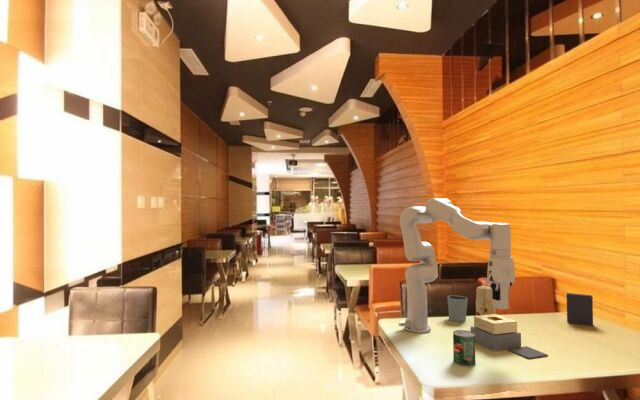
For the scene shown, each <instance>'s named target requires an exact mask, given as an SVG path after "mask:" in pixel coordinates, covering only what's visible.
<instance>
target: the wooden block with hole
mask: <svg viewBox="0 0 640 400" xmlns="http://www.w3.org/2000/svg"><path fill="white" fill-rule="evenodd" d="M473 326H475V327H477V328H479V329H482V330H484V331H487V332H489V333H492V334H494V335H495V334H504V333H512V332H518V321H517V320H514V319H511V318H509V317H508V316H507V317H506V316H503V315H499V314H497V313H496V314H491V315H481V316H477V315H475V316H473Z"/></svg>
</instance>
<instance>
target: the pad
mask: <svg viewBox="0 0 640 400" xmlns="http://www.w3.org/2000/svg"><path fill="white" fill-rule="evenodd" d="M507 350H508V351H509V352H511V353H514V354H516V355H518V356H520V357H522V358H524V359H527V360H532V359H539V358H545V357H548V356H549V355H548V354H547V353H544V352H542V351H540V350H537V349H535V348H531V347H529V346H527V345H526V346H525V345H524V346H521V347H518V348H510V349H507Z"/></svg>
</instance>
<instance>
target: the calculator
mask: <svg viewBox="0 0 640 400" xmlns="http://www.w3.org/2000/svg"><path fill="white" fill-rule="evenodd" d="M593 302H594V301H593V295H591V294H583V293H574V292H573V293H571V292H566V321H567V323H568V324H574V325H575V324H576V325H584V326H591V327H593V326H594V310H593V309H594V307H593V306H594V305H593V304H594V303H593Z"/></svg>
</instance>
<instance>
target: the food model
mask: <svg viewBox="0 0 640 400" xmlns="http://www.w3.org/2000/svg"><path fill="white" fill-rule="evenodd" d="M475 313H476V315H475V316H481V315H491V314H497V311H496V308H494V307H493V299H492V289H491V287H490V286H489V285H488V286H487V285H480V286H479V285H478V287H476V291H475Z"/></svg>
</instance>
